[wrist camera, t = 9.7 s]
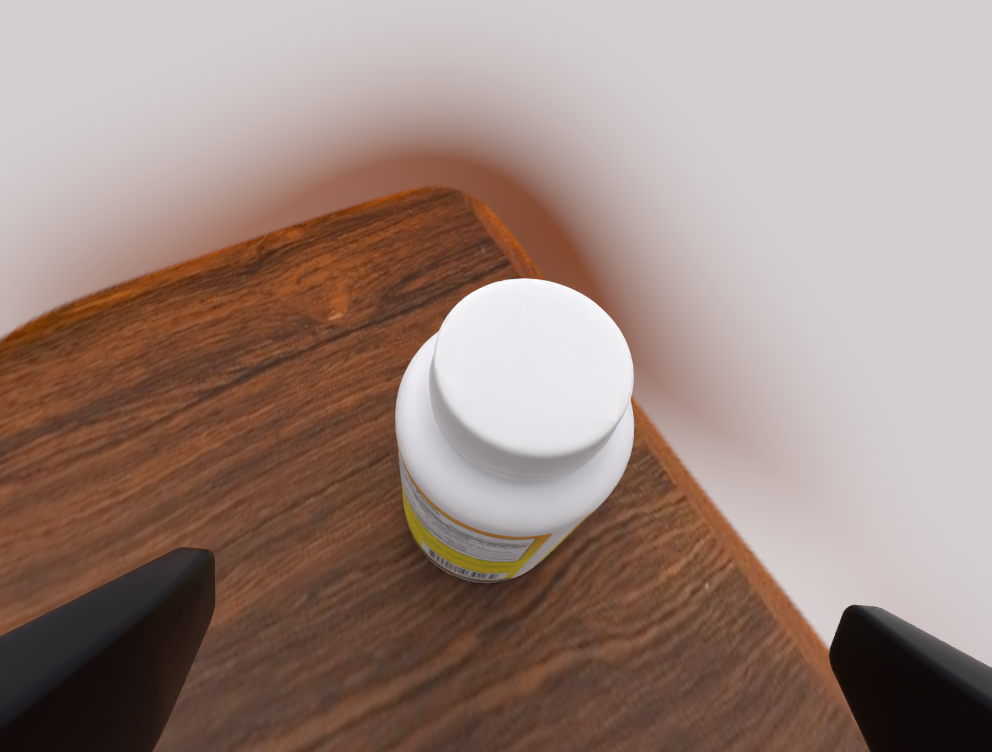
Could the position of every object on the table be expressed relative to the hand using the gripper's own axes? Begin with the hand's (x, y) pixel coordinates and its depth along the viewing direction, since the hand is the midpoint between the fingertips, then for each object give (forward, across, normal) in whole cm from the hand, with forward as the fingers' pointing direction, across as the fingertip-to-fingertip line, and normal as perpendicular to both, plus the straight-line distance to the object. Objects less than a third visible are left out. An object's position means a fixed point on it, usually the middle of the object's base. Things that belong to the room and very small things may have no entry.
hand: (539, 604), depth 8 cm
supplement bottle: (+11, 0, +5) cm, 12 cm away
